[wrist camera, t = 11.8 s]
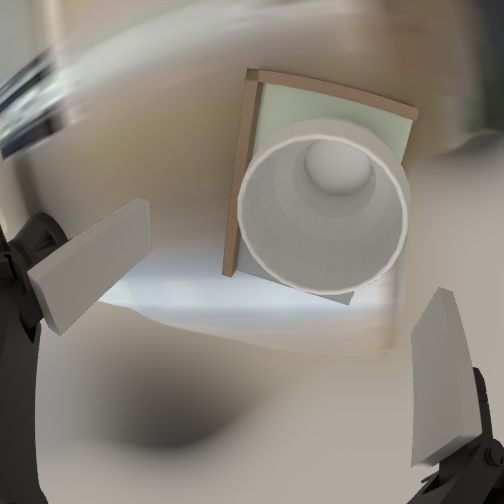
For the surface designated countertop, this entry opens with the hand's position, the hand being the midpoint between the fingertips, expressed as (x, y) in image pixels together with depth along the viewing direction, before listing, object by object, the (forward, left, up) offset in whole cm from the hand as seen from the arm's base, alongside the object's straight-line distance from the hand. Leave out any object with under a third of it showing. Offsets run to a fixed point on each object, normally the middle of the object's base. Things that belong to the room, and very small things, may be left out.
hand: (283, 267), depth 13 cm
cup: (+1, 0, -20) cm, 20 cm away
